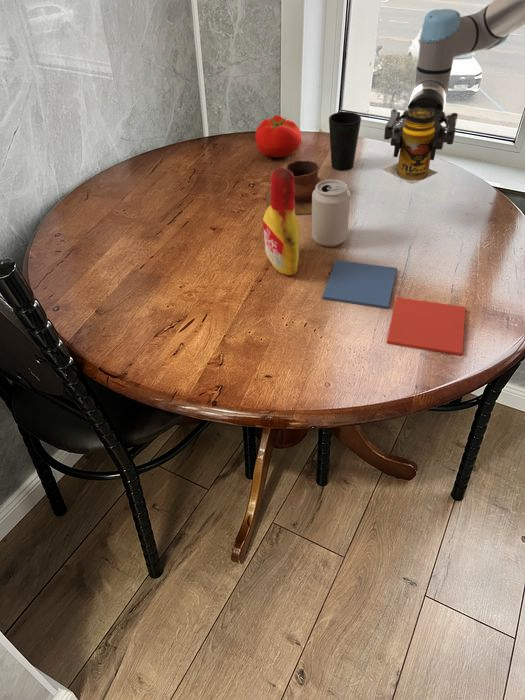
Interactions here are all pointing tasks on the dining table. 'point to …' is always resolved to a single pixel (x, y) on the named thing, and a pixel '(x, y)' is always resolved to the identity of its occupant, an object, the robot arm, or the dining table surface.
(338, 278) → the mat blue
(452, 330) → the mat red
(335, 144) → the cup
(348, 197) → the can
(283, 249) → the bottle
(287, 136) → the tomato
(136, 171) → the dining table surface
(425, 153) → the condiment
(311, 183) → the ceramic pot
